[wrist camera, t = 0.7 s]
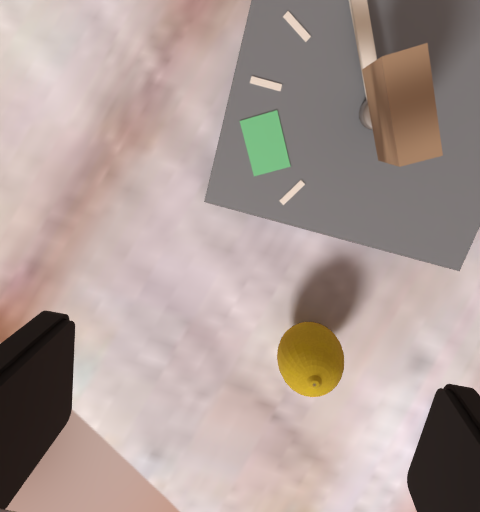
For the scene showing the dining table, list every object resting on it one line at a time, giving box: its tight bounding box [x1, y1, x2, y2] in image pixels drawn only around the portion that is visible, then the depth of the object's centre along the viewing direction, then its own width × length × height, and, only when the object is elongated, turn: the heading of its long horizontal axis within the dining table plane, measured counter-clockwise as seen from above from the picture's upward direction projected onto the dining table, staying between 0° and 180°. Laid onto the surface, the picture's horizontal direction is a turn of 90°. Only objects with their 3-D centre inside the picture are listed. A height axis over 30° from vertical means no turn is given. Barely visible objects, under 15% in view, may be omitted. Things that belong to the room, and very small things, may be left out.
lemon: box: [277, 322, 344, 397], centre depth 35 cm, size 6×6×8 cm
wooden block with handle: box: [349, 0, 443, 167], centre depth 26 cm, size 13×2×9 cm, turn 15°
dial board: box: [204, 0, 480, 271], centre depth 32 cm, size 22×20×2 cm
